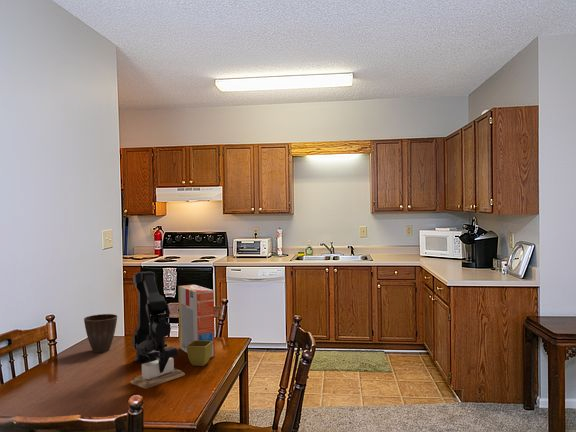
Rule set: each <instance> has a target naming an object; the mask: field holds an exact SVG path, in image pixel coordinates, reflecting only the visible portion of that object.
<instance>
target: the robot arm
mask: <svg viewBox="0 0 576 432" xmlns="http://www.w3.org/2000/svg"><path fill="white" fill-rule="evenodd" d="M132 281H133V284H134V287H135V288H136V289H137V292H138V293H137V294H138V325H137V326H136V328H135V329H134V334H133V337H132V341H131V342H132V343H131V344H132V348H133V350H135V358H134V359H133V360H132V361H133V362H136V363H139V364H145V363H148V362H151V361H154V360H158V361H159V370H160V373H162V372H163V371H164V368H165V366H166V364H167V362H168V360H169V358H174V357H177V356H179V349H178V348H176V347H173V346H169V347H168V343H166V337H168V336H169V335H170V333H171V329H172V328H171V325H170V324H169V323H168V322H167V321H166V319H167V318H170V315H171V311H170V308H169V304H168V303H167V301H166V300H165V297H164V296H163V295H161V294H160V293H159V292H160V291H159V290H158V286H157V283H156V273H155V272H154V271H139V272H135V274H133V275H132Z"/></svg>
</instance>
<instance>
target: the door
mask: <svg viewBox="0 0 576 432" xmlns="http://www.w3.org/2000/svg"><path fill="white" fill-rule="evenodd" d="M174 365H175V362H174V357H171V358H169V360H168V362H167V364H166V366H165V368H164V371H163V372H162V373H160V370H159V361H158V360H154V361H151V362H150V361H148V362H144V363H141V375H142V378H145V379H151V378H153V377H157V376H160V375H163V374H166V373H169V372H171V371H174V369H175V367H174Z"/></svg>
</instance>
